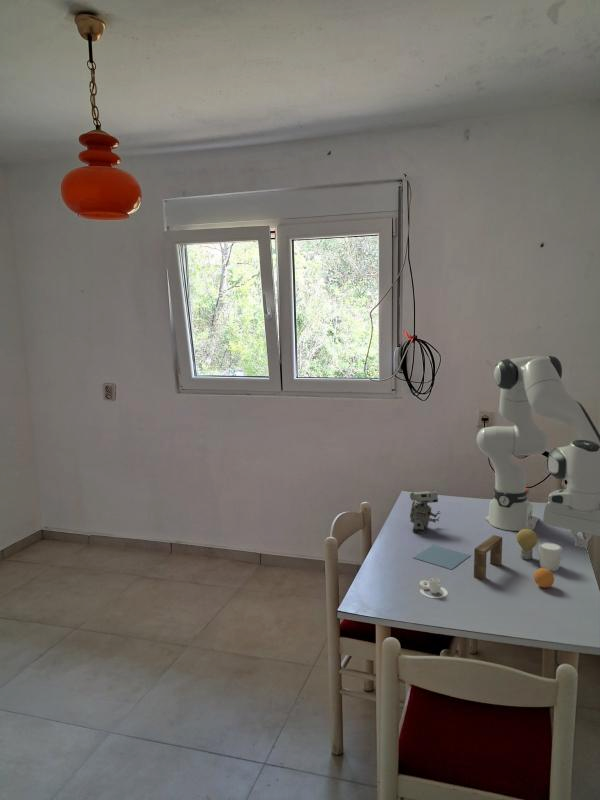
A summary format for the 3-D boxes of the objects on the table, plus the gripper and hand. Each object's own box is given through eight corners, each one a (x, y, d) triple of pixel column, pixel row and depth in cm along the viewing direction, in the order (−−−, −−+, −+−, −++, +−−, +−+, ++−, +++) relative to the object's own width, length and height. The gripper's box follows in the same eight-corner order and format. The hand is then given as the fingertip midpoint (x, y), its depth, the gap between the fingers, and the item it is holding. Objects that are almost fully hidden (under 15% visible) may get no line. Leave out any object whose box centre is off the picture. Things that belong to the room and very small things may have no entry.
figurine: (439, 534, 202) (440, 496, 200) (408, 532, 205) (409, 494, 203) (440, 526, 210) (440, 489, 208) (410, 523, 214) (410, 487, 212)
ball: (537, 580, 164) (537, 563, 164) (556, 586, 161) (557, 568, 160) (530, 587, 160) (531, 569, 160) (550, 592, 157) (551, 574, 156)
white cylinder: (551, 573, 169) (552, 552, 168) (533, 565, 175) (533, 544, 174) (565, 568, 172) (566, 547, 171) (547, 560, 178) (548, 540, 177)
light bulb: (518, 552, 185) (519, 524, 183) (538, 556, 181) (539, 528, 180) (513, 559, 180) (514, 530, 178) (534, 563, 176) (535, 534, 175)
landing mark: (433, 545, 192) (433, 544, 192) (470, 555, 183) (470, 555, 183) (413, 558, 182) (413, 557, 182) (451, 569, 173) (451, 569, 173)
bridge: (473, 576, 167) (474, 548, 166) (492, 561, 178) (493, 534, 177) (483, 579, 165) (483, 551, 164) (501, 564, 176) (502, 537, 175)
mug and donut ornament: (416, 586, 163) (416, 573, 163) (441, 584, 164) (442, 572, 163) (424, 600, 154) (424, 587, 154) (451, 599, 155) (451, 585, 154)
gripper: (628, 503, 146) (625, 552, 147) (549, 489, 159) (547, 534, 161) (623, 509, 141) (620, 559, 143) (542, 494, 155) (540, 541, 156)
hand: (581, 546), depth 152 cm, fingers closed
